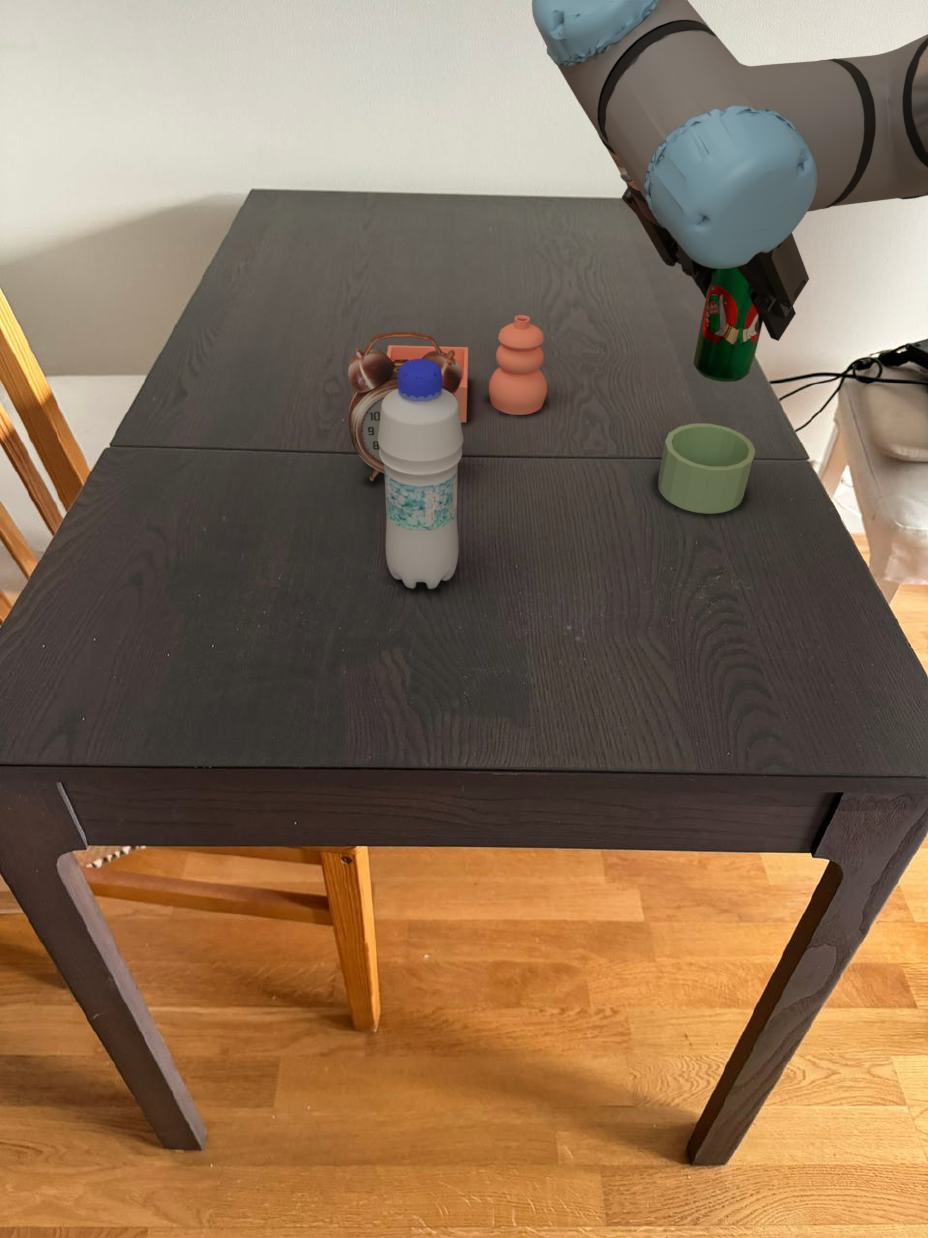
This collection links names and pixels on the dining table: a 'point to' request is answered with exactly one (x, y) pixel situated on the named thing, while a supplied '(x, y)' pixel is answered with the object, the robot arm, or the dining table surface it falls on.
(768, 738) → the dining table surface
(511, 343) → the pottery
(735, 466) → the cup
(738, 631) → the dining table surface
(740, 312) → the soda can
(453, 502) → the bottle
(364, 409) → the alarm clock
